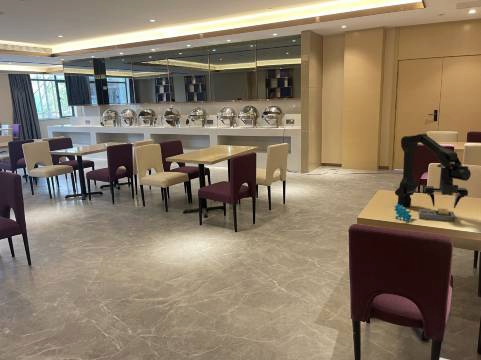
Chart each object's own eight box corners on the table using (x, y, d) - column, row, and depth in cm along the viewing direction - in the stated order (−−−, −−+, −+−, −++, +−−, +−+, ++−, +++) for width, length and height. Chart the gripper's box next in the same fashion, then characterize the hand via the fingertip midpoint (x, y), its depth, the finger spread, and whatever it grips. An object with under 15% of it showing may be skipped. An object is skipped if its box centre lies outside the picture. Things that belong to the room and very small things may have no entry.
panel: (419, 218, 188) (419, 213, 188) (418, 213, 196) (418, 208, 196) (455, 221, 182) (455, 216, 182) (452, 216, 190) (453, 211, 190)
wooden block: (438, 219, 187) (438, 210, 186) (437, 216, 191) (437, 208, 190) (448, 220, 185) (449, 211, 184) (447, 217, 189) (447, 208, 188)
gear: (403, 221, 181) (392, 203, 186) (394, 226, 185) (384, 209, 190) (417, 219, 186) (407, 203, 191) (408, 225, 190) (398, 208, 195)
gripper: (426, 179, 180) (424, 210, 183) (471, 181, 173) (468, 213, 176) (425, 174, 190) (423, 204, 193) (467, 176, 183) (464, 207, 186)
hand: (444, 207), depth 187 cm, fingers open, 9 cm apart
